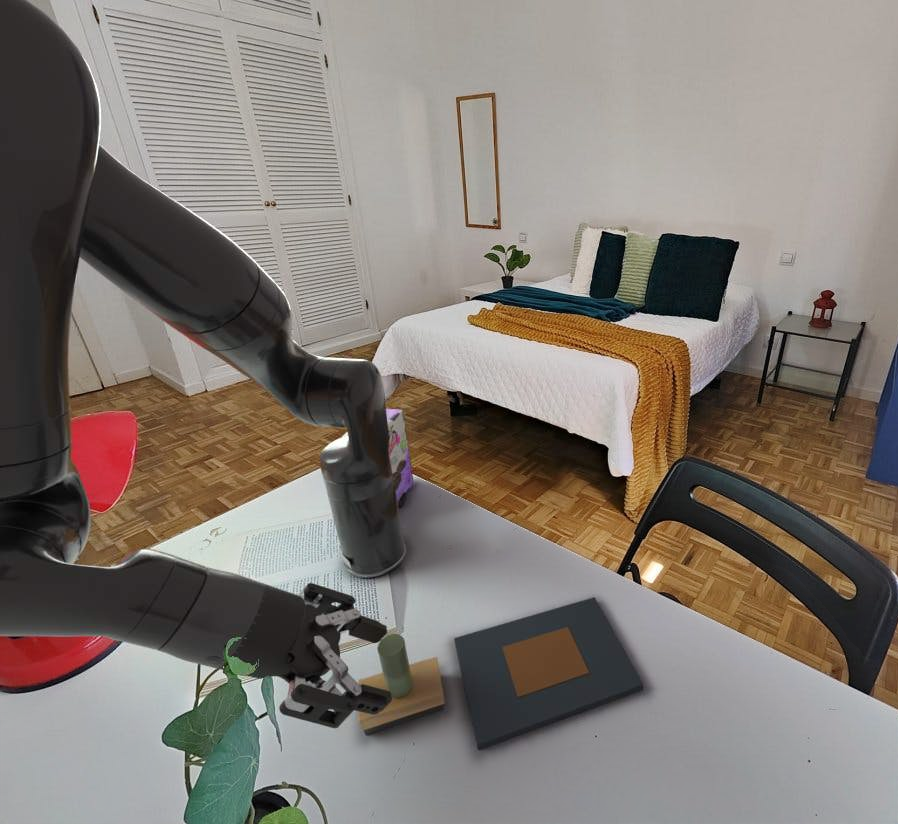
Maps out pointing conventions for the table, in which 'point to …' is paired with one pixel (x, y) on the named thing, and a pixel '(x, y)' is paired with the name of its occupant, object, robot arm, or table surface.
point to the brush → (403, 686)
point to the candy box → (398, 452)
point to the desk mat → (542, 670)
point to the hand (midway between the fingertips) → (384, 666)
